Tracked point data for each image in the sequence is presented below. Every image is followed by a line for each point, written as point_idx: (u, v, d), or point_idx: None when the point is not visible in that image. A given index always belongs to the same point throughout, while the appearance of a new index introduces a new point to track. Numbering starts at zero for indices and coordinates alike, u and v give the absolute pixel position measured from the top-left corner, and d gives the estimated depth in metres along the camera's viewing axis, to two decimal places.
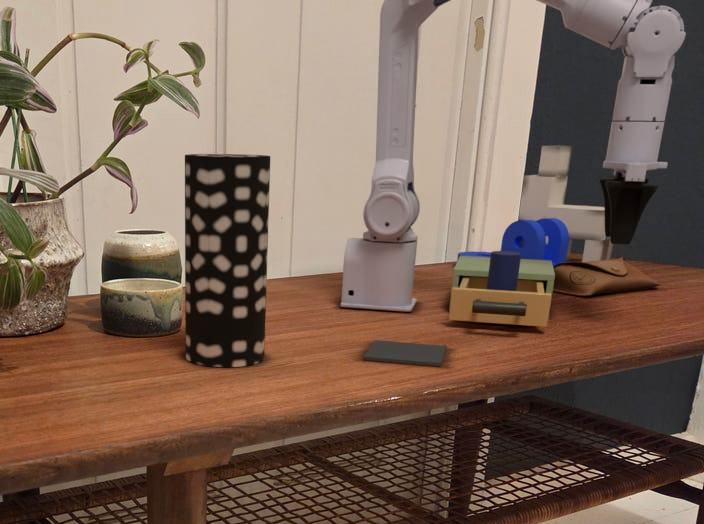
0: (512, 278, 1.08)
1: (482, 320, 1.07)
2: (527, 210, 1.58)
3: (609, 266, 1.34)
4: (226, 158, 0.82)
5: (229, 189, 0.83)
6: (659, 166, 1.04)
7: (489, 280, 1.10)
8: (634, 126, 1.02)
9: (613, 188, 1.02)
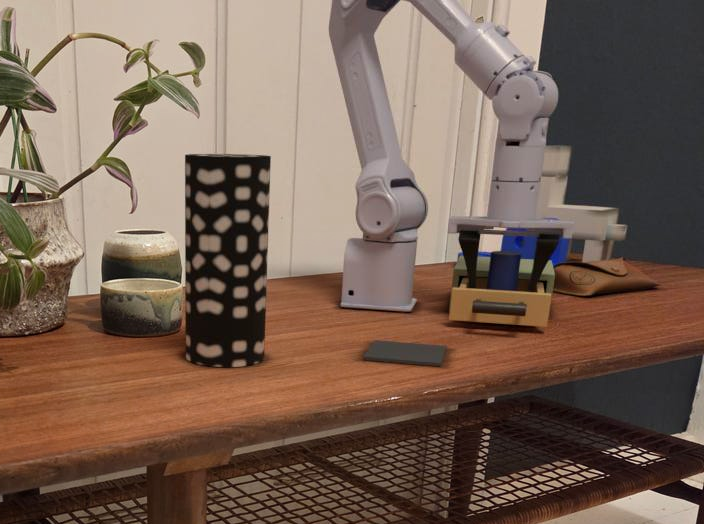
0: (512, 278, 1.08)
1: (482, 320, 1.07)
2: None
3: (609, 266, 1.34)
4: (226, 158, 0.82)
5: (230, 189, 0.83)
6: (500, 224, 1.05)
7: (489, 280, 1.10)
8: None
9: None
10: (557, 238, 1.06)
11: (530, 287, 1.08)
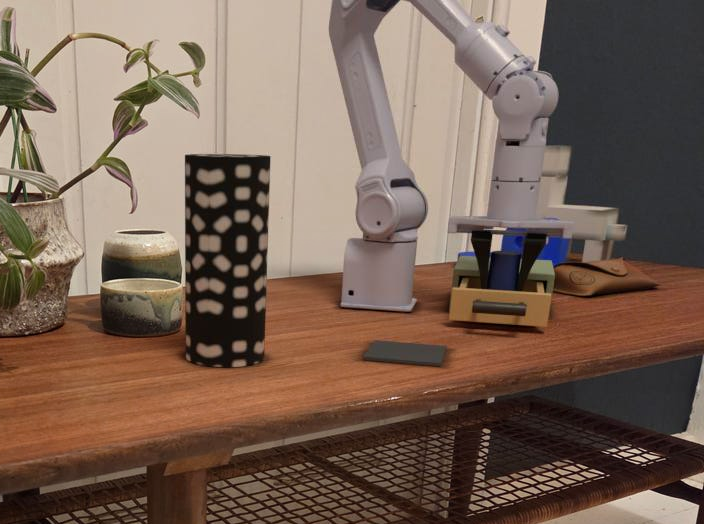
0: (513, 278, 1.08)
1: (482, 320, 1.07)
2: None
3: (608, 266, 1.34)
4: (226, 158, 0.82)
5: (229, 189, 0.83)
6: (500, 224, 1.05)
7: (489, 280, 1.10)
8: None
9: None
10: (544, 237, 1.06)
11: (518, 286, 1.09)
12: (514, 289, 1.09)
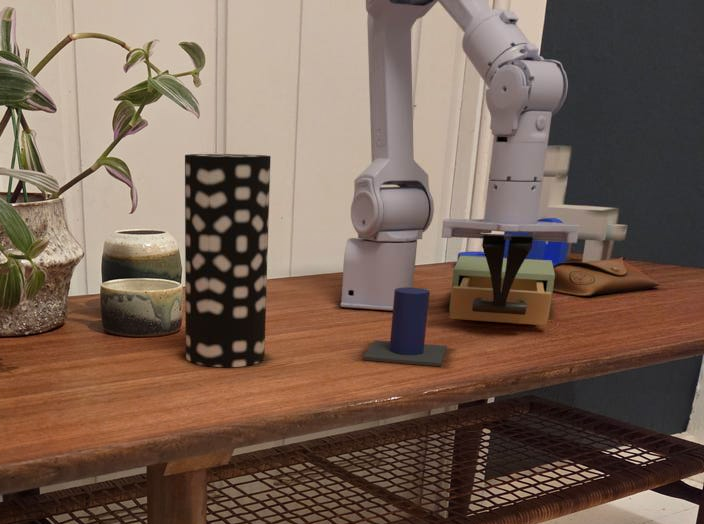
0: (419, 320, 0.92)
1: (482, 319, 1.08)
2: None
3: (608, 266, 1.34)
4: (226, 158, 0.82)
5: (229, 189, 0.83)
6: (498, 228, 0.96)
7: (393, 322, 0.93)
8: None
9: None
10: (530, 241, 0.98)
11: (502, 294, 1.00)
12: (422, 333, 0.93)
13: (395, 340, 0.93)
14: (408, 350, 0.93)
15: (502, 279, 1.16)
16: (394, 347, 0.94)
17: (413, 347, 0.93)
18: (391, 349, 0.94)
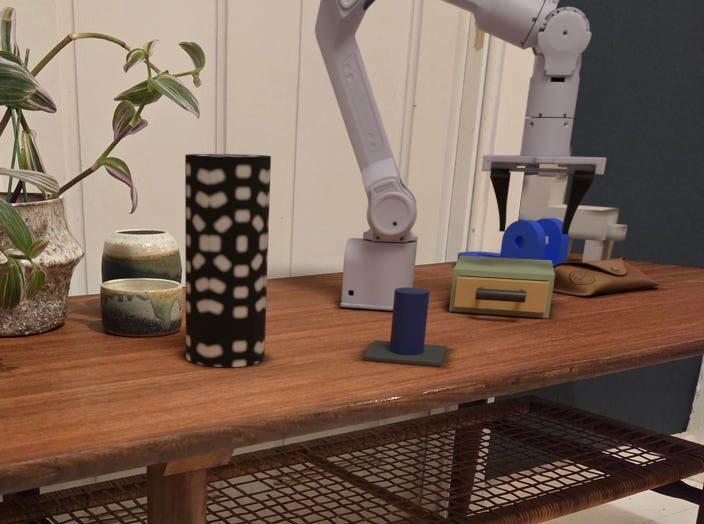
0: (419, 320, 0.92)
1: (485, 307, 1.15)
2: (527, 210, 1.58)
3: (608, 266, 1.34)
4: (227, 158, 0.82)
5: (230, 189, 0.83)
6: (534, 160, 1.08)
7: (393, 322, 0.93)
8: None
9: None
10: (592, 174, 1.08)
11: (565, 223, 1.11)
12: (422, 333, 0.93)
13: (395, 340, 0.93)
14: (408, 350, 0.93)
15: None
16: (394, 347, 0.94)
17: (413, 347, 0.93)
18: (391, 349, 0.94)
